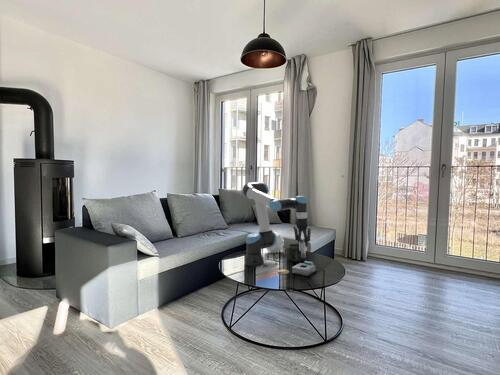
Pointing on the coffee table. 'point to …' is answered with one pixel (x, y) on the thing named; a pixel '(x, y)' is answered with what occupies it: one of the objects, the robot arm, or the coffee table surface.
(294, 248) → the mug
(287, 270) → the coaster
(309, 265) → the block
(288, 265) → the coffee table surface
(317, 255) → the coffee table surface
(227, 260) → the coffee table surface
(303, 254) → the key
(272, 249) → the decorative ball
